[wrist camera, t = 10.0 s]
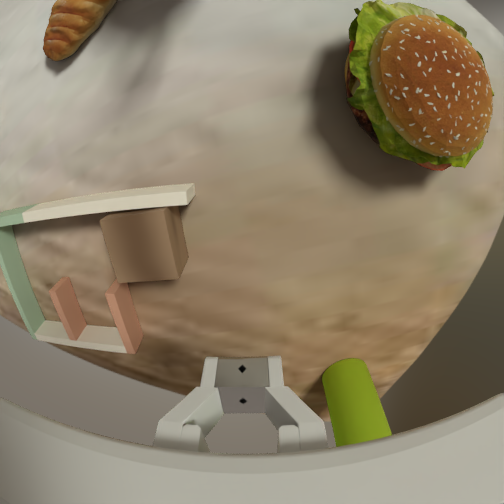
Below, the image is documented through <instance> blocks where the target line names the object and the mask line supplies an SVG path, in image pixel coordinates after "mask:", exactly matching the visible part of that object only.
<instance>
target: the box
mask: <svg viewBox="0 0 504 504" xmlns="http://www.w3.org/2000/svg"><path fill="white" fill-rule="evenodd" d="M194 196H195V186H194V183H190V184H178V185H166V186H156V187H147V188H138V189H129V190H121V191H114V192H106V193H99V194H92V195H86V196H80V197H73V198H67V199H62V200H56V201H51V202H45V203H40V204H35V205H30V206H26V207H21V208H16V209H12V210H7V211H3V212H2V213H0V265H1V268H2V271H3V274H4V276H5V279H6V282H7V284H8V287H9V289H10V292H11V294H12V296H13V299H14V301H15V303H16V306H17V308H18V310H19V312H20V314H21V316H22V319H23V321H24V323H25V325H26V327H27V329H28V331H29V333H30V335H31V336H32V338H33V339H36V340H41V341H46V342H51V343H56V344H62V345H68V346H74V347H80V348H87V349H94V350H102V351H110V352H119V353H129V354H136V352H137V350H138V347H139V345H140V343H141V340H142V338H143V333H142V330H141V327H140V323H139V320H138V317H137V314H136V311H135V308H134V304H133V301H132V297H131V294H130V290H129V287H128V283H118V281H117V279H116V280H115V281H114V282H113V284H112V285H111V286H110V288H109V289H108V290H107V292H106V293H105V295H106V298H107V301H108V304H109V307H110V310H111V313H112V315H113V318H114V321H115V324H116V326H117V327H105V326H94V325H87V324H86V321H85V319H84V316H83V314H82V311H81V309H80V306H79V304H78V301H77V298H76V296H75V293H74V290H73V287H72V284H71V281H70V279H69V277H62V278H61V279H60V280H59V281H58V282H57V283H56V284H55V286H54V287H53V288H52V289H51V290H50V291H49V293H50V296H51V298H52V301H53V303H54V306H55V308H56V310H57V313H58V315H59V317H60V320H61V322H57V321H49V320H45V318H44V316H43V314H42V312H41V309H40V307H39V305H38V302H37V300H36V297H35V295H34V293H33V290H32V287H31V285H30V282H29V280H28V277H27V274H26V271H25V268H24V265H23V262H22V259H21V256H20V253H19V250H18V247H17V243H16V240H15V236H14V232H13V229H12V225H14V224H20V223H26V222H33V221H39V220H46V219H53V218H60V217H68V216H76V215H84V214H92V213H101V212H110V211H120V210H130V209H141V208H152V207H165V206H178V205H188V204H189V202H190V201H191V200H192V199H193V197H194Z"/></svg>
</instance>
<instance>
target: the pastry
mask: <svg viewBox="0 0 504 504" xmlns="http://www.w3.org/2000/svg"><path fill="white" fill-rule="evenodd" d="M116 2H117V0H57V1H56V2H55V4H54V5H53V7H52V12H51V16H50V18H49V24H48V26H47V29H46V32H45V37H44V46H43V50H44V52H45V55H47V56H48V58H50V59H52V60H54V61H59V60H62V59H65V58H67V57H69V56H71V55H72V54H74V53H75V52H76V51H77V50H78V48H79V47H80V45H81V44H82V42H84V41H85V40H86V39H87V38H88V37H89V36H90V35H91V34H92V33H93V32H94V31H96V30H97V29H98V28H99V26H100V23H101V22H102V20H103V19H104V18H105V17H106V15H107V14H108V12H109V11H110V10H111V9H112V7H113V6H114V4H115V3H116Z"/></svg>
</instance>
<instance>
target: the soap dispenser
mask: <svg viewBox="0 0 504 504" xmlns="http://www.w3.org/2000/svg"><path fill="white" fill-rule="evenodd" d="M322 382H323V387H324V391H325V395H326V400H327V404H328V409H329V413H330V418H331V423H332V427H333V432H334V437H335V442H336V447H339V446H345V445H350V444H356V443H361V442H366V441H370V440H375V439H379V438H383V437H387V436H391V435H392V434H391V431H390V428H389V425H388V422H387V419H386V416H385V413H384V411H383V408H382V405H381V402H380V400H379V397H378V394H377V392H376V389H375V386H374V384H373V381H372V379H371V376H370V373H369V371H368V368H367V366H366V364H365V362H364V361H362V360H360V359H355V358H350V359H344V360H341V361H338V362H336V363H334V364H333V365H331V366H330V367H329V368H327V369H326V371H325V372H324V374H323V376H322Z"/></svg>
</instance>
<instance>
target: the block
mask: <svg viewBox="0 0 504 504" xmlns="http://www.w3.org/2000/svg"><path fill="white" fill-rule="evenodd" d="M100 225H101V228H102V232H103V236H104V239H105V243H106V246H107V250H108V253H109V256H110V259H111V263H112V266H113V269H114V272H115V275H116V278H117V281H118V283H127V282H143V281H158V280H172V279H179V278H180V275H181V273H182V271H183V269H184V266H185V264H186V262H187V260H188V258H189V256H188V251H187V247H186V242H185V237H184V232H183V227H182V221H181V216H180V211H179V205H178V206H165V207H152V208H141V209H130V210H120V211H112V212H111V213H109V214H108V215H107V216H105V217H104V218H102V219H101V220H100Z"/></svg>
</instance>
